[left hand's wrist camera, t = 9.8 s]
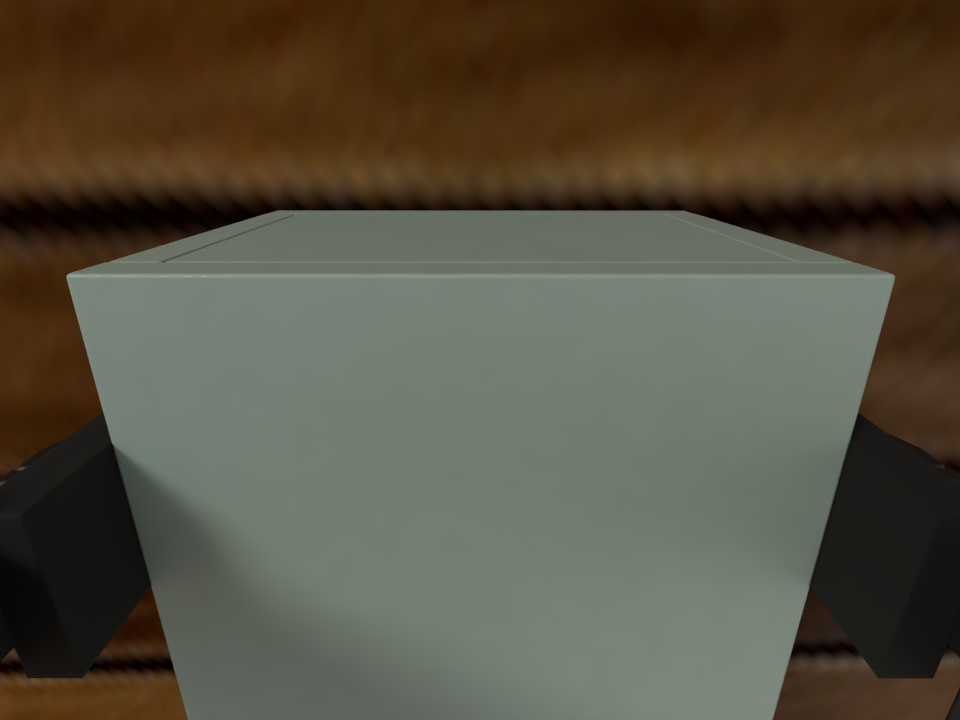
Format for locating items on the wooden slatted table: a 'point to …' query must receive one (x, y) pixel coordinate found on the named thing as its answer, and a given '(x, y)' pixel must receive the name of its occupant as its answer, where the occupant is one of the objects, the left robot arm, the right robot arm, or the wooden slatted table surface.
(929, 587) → the left robot arm
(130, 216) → the wooden slatted table surface
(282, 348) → the cabinet
